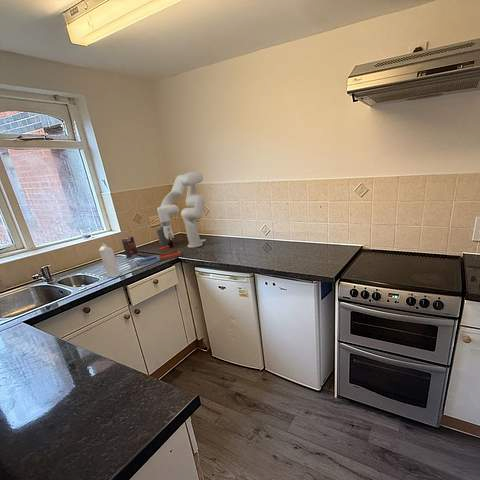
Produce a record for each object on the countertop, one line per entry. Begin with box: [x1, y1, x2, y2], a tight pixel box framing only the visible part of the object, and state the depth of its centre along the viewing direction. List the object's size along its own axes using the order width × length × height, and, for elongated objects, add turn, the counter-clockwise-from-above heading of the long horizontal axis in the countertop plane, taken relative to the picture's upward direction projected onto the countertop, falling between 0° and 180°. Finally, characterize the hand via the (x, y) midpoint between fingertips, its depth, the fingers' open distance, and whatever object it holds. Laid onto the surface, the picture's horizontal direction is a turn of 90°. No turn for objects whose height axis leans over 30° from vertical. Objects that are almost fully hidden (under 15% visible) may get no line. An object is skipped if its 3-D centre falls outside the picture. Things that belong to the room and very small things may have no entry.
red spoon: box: [159, 244, 176, 251], centre depth 226 cm, size 12×4×2 cm, turn 122°
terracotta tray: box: [157, 250, 182, 262], centre depth 229 cm, size 15×11×2 cm
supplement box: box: [121, 236, 139, 260], centre depth 236 cm, size 9×5×16 cm, turn 168°
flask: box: [156, 225, 174, 248], centre depth 260 cm, size 4×14×18 cm, turn 156°
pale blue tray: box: [135, 254, 161, 267], centre depth 222 cm, size 15×11×2 cm
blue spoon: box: [140, 257, 157, 263], centre depth 222 cm, size 12×4×2 cm, turn 122°
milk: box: [98, 243, 121, 279], centre depth 196 cm, size 6×6×22 cm
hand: (171, 247), depth 228 cm, fingers closed on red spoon, 1 cm apart
